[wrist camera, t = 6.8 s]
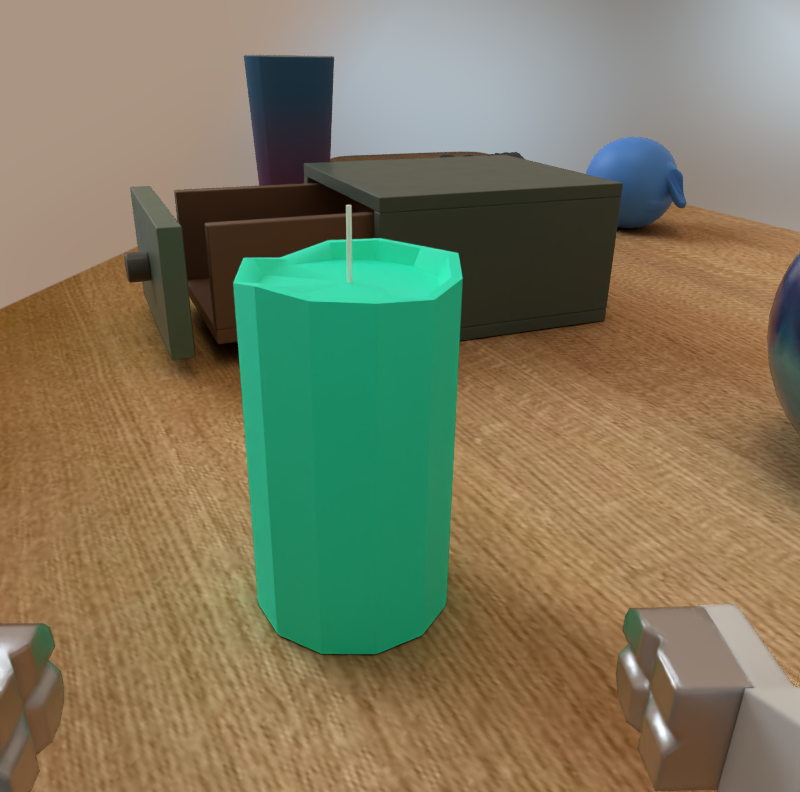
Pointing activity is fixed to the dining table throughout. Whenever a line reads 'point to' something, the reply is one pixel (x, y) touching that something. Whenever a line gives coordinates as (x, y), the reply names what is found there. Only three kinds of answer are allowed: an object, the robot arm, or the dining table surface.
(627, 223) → the blue mole toy
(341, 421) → the candle
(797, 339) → the vase
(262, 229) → the drawer
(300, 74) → the cup
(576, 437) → the dining table surface
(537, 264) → the cabinet
